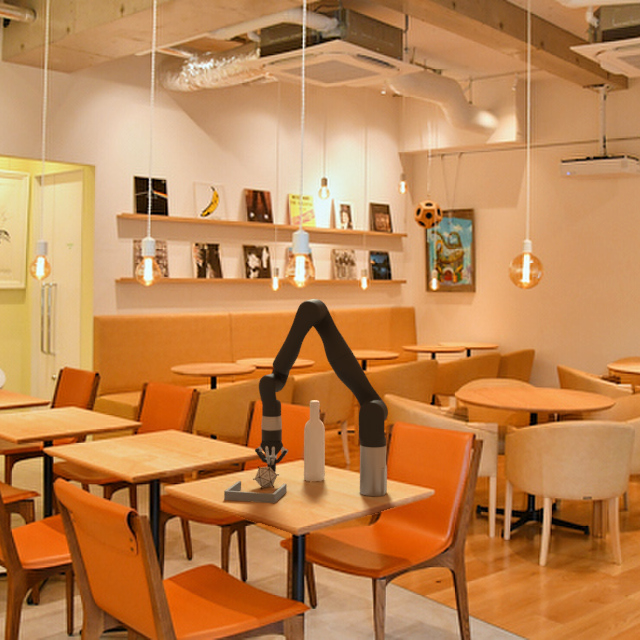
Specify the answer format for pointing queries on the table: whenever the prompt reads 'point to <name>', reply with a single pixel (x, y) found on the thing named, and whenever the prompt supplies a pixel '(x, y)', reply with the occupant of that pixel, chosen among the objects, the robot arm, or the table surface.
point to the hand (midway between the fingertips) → (271, 473)
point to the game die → (265, 477)
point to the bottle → (314, 445)
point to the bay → (253, 494)
